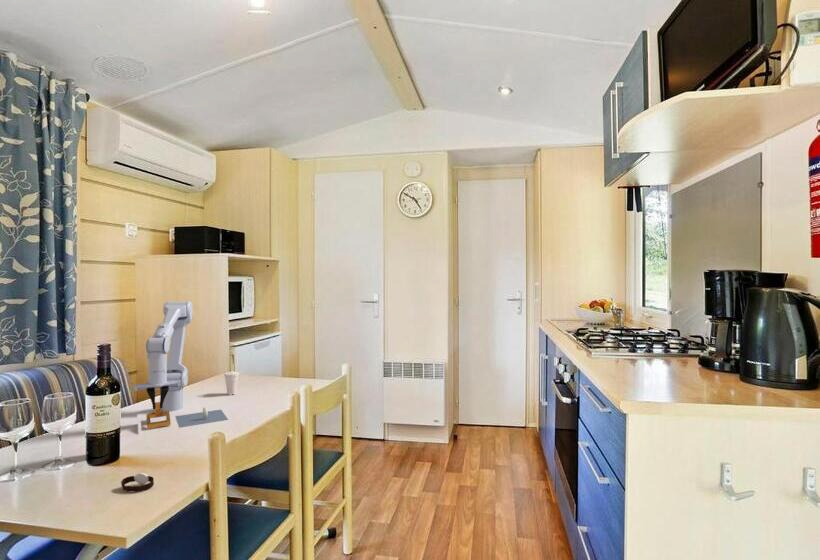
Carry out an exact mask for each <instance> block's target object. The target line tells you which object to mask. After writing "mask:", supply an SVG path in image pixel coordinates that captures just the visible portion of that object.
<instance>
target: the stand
mask: <svg viewBox="0 0 820 560" xmlns="http://www.w3.org/2000/svg"><path fill="white" fill-rule="evenodd" d="M175 419H176V421H177V424H178V427H179V429H180V428H185V427H192V426H193V427H194V426H197V425H205V424H211V423H216V422H223V421H229V419H228V417H227V416H226V414H225V413H224V411H223V410H222V409H217V410H216V409H215V410H209V409H208V406H207V407H203V408H202V412H201V411H200V412H196V413H195V412H194V413H188V414H181V415H175Z"/></svg>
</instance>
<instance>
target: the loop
mask: <svg viewBox="0 0 820 560" xmlns="http://www.w3.org/2000/svg"><path fill="white" fill-rule="evenodd" d="M145 416H146V417H145V418H146V429H153V428H154V429H155V428H159V427H160V428H161V427H165V426H171V416H170V411H163V410H162V409H160V401H157V402H156V401H155V409H154V412H149V413H145ZM161 417H165V419H166V420H160V421H153V422H151V419H153V418H155V419H156V418H161Z"/></svg>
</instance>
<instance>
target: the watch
mask: <svg viewBox="0 0 820 560" xmlns="http://www.w3.org/2000/svg"><path fill="white" fill-rule="evenodd" d="M154 479H155V478H154V477H153V476H151V475H148V474H146V473H145V472H139V473H137V474H135V475H131V476H126V477H125V478H123V479H122V480H121V482H120V484H121V488H122V489H121V490H122V491H124V490H126V491H125V492H129V491H135V492H143V491H142V490H145V491H147V490H149V489H151V488H152V487H154V484H155V482H154ZM132 482H136V483H137V484H138V485H127V484H128V483H132Z"/></svg>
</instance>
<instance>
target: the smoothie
mask: <svg viewBox="0 0 820 560" xmlns="http://www.w3.org/2000/svg"><path fill="white" fill-rule="evenodd" d="M231 369H232V370H231V371H229V372H225V373H224V374H223V375H224V379H225V386H226V394H228V395H227V396H233V395H232V394H235V395H237V390H238V382H239V376H240V372H238V371H234V363H232V366H231Z"/></svg>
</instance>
